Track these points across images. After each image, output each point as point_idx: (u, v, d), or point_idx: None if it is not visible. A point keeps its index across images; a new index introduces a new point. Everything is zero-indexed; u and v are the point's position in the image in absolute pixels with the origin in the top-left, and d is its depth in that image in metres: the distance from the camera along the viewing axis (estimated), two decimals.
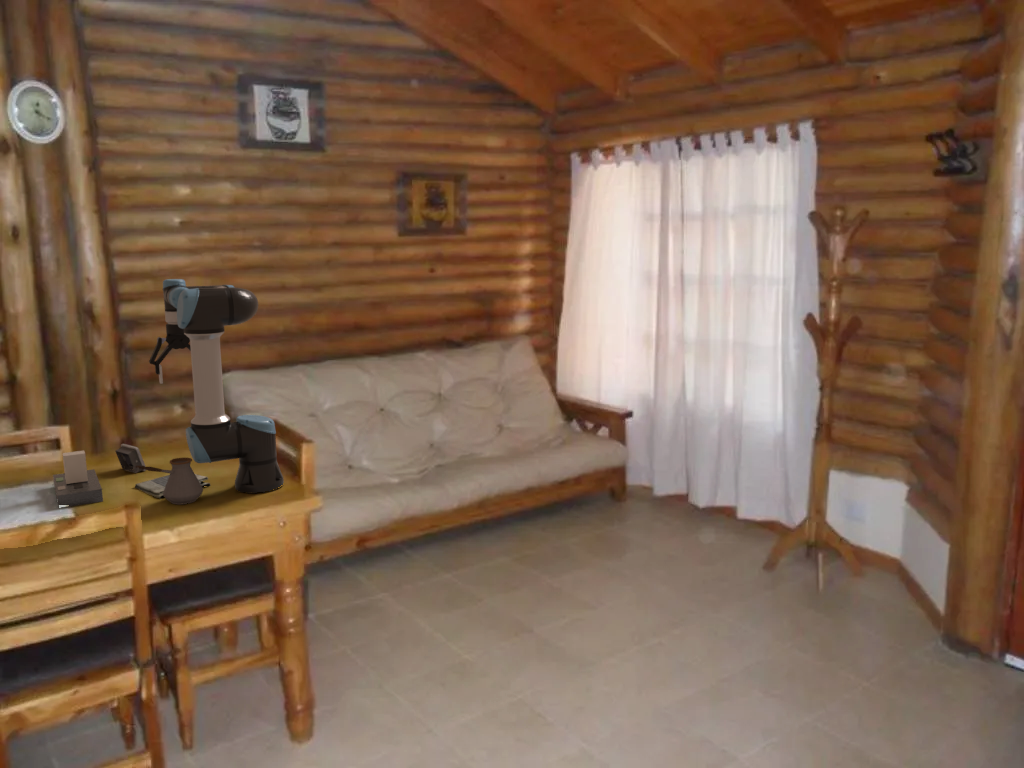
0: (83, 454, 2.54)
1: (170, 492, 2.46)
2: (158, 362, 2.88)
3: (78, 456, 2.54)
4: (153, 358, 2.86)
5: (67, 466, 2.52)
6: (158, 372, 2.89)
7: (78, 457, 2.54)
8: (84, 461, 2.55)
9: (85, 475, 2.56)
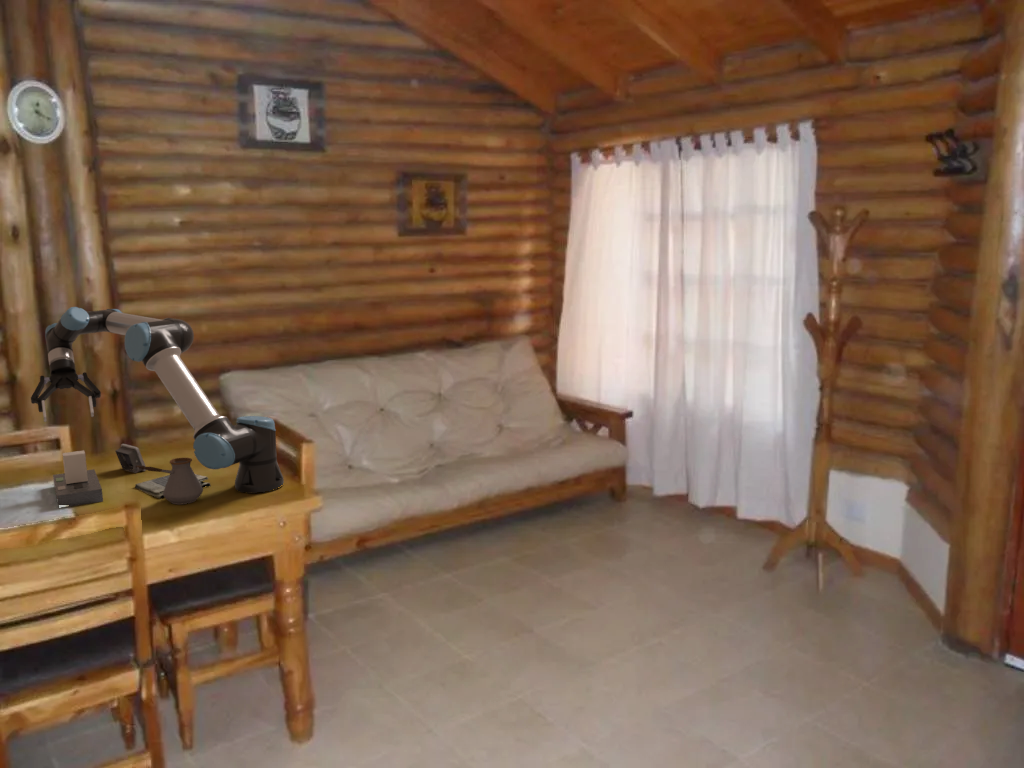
0: (83, 454, 2.54)
1: (170, 492, 2.46)
2: (40, 397, 2.64)
3: (78, 456, 2.54)
4: (34, 394, 2.63)
5: (67, 466, 2.52)
6: (41, 407, 2.62)
7: (78, 457, 2.54)
8: (84, 461, 2.55)
9: (85, 475, 2.56)
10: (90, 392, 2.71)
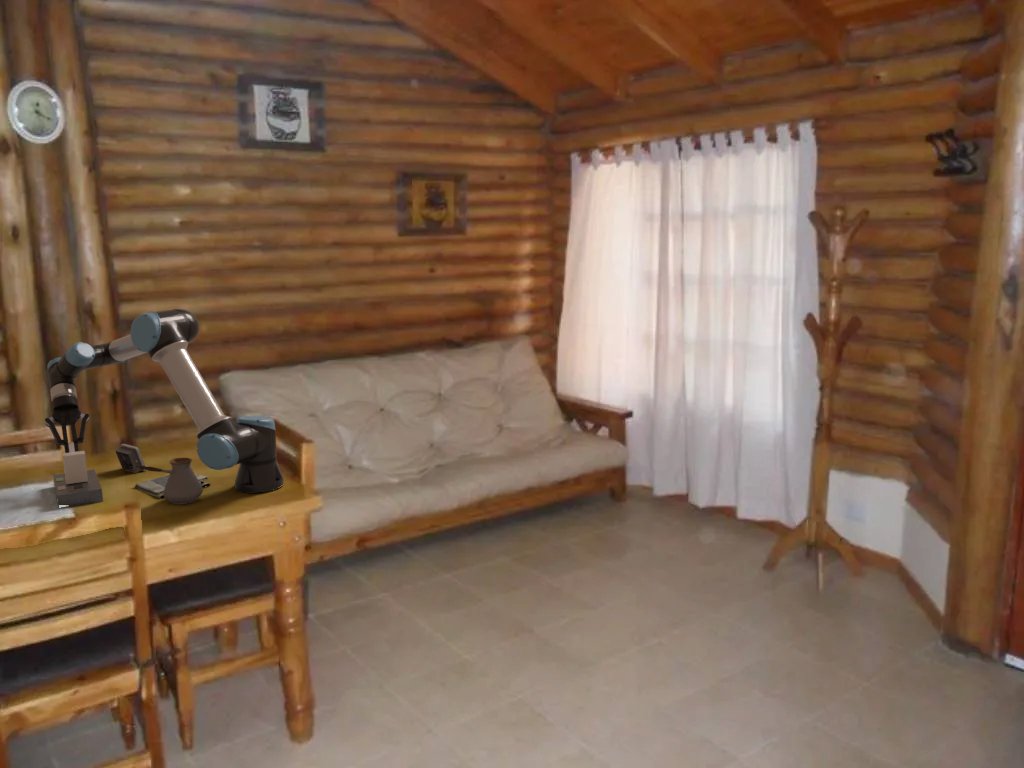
0: (83, 454, 2.54)
1: (170, 492, 2.46)
2: (65, 439, 2.59)
3: (78, 457, 2.53)
4: (57, 436, 2.59)
5: (67, 466, 2.52)
6: (67, 450, 2.58)
7: (78, 457, 2.53)
8: (84, 461, 2.54)
9: (85, 475, 2.55)
10: (74, 437, 2.61)
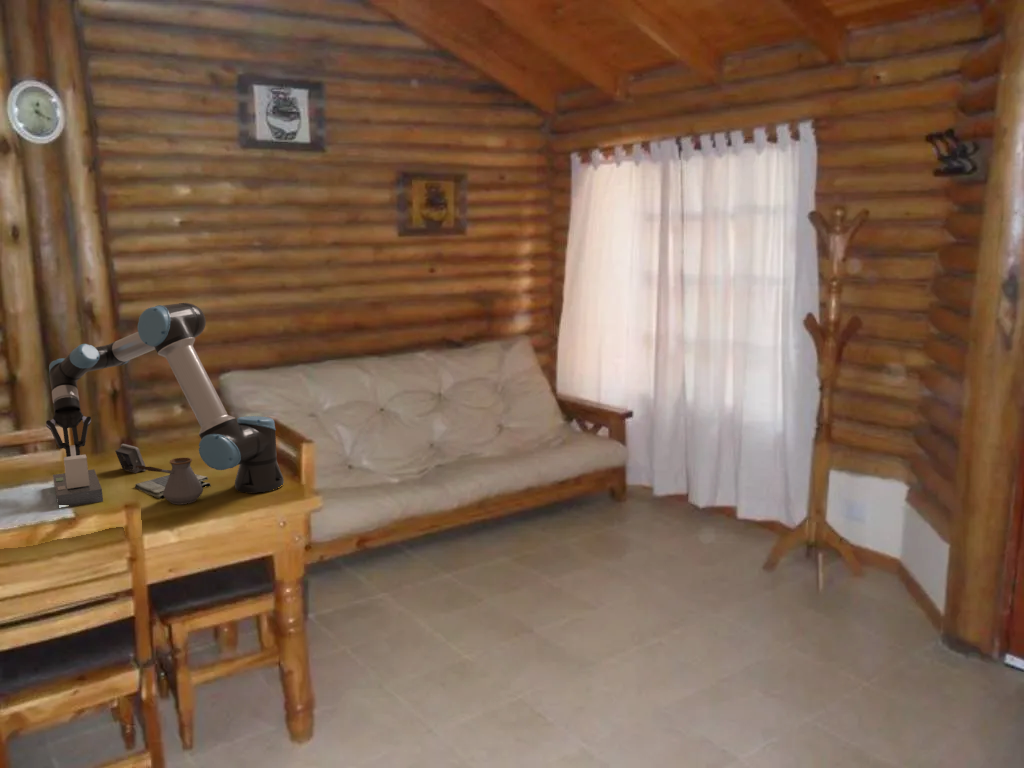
0: (84, 458, 2.50)
1: (170, 492, 2.46)
2: (66, 442, 2.55)
3: (80, 461, 2.49)
4: (58, 439, 2.55)
5: (68, 471, 2.48)
6: (69, 453, 2.54)
7: (79, 461, 2.49)
8: (86, 465, 2.50)
9: (87, 480, 2.51)
10: (76, 440, 2.57)
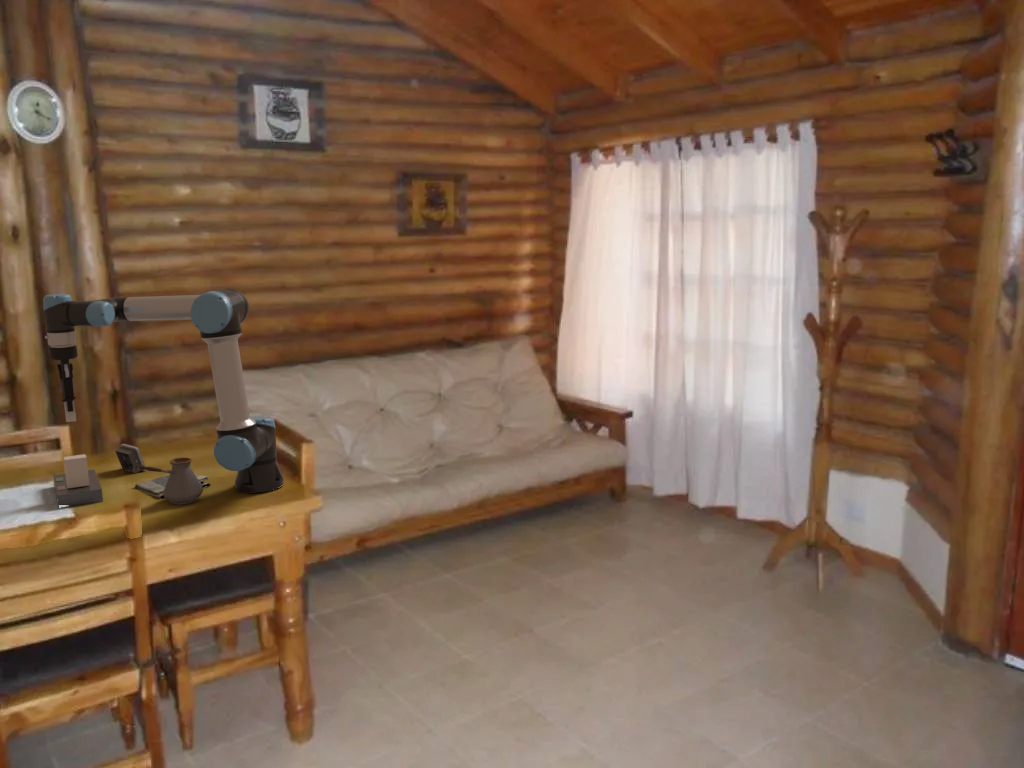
0: (84, 458, 2.50)
1: (170, 492, 2.46)
2: None
3: (79, 460, 2.49)
4: None
5: (68, 470, 2.48)
6: (72, 408, 2.50)
7: (79, 461, 2.49)
8: (85, 465, 2.50)
9: (86, 479, 2.51)
10: None
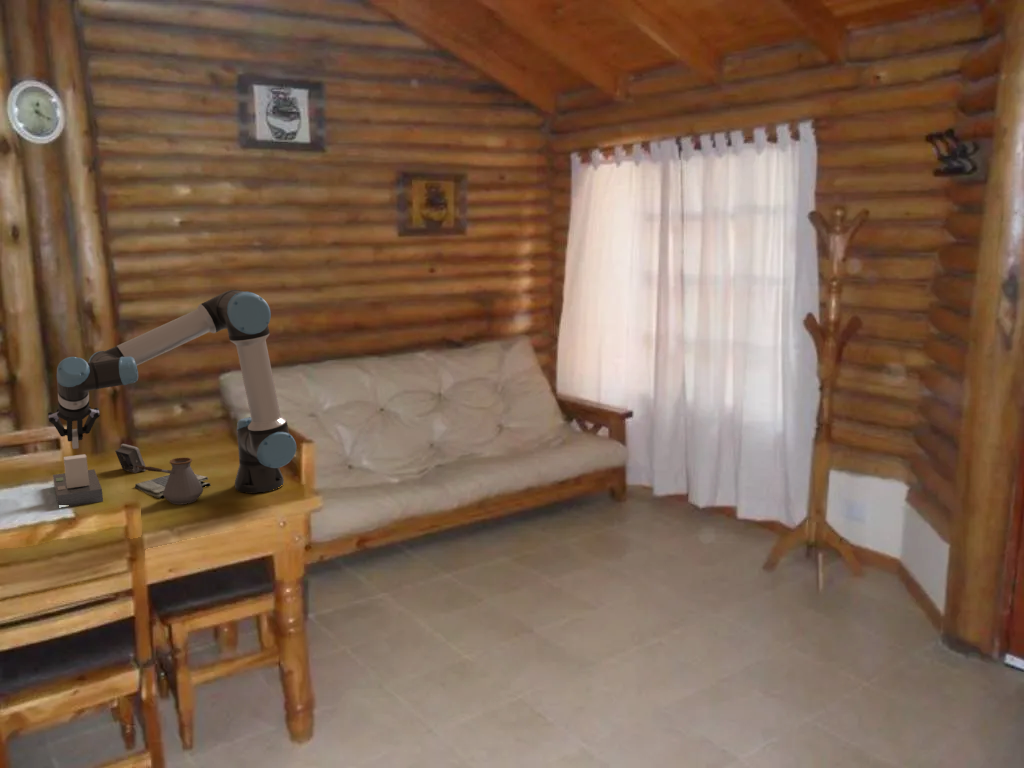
0: (84, 458, 2.50)
1: (170, 492, 2.46)
2: None
3: (79, 460, 2.49)
4: None
5: (68, 470, 2.48)
6: None
7: (79, 461, 2.49)
8: (85, 465, 2.50)
9: (86, 479, 2.51)
10: None
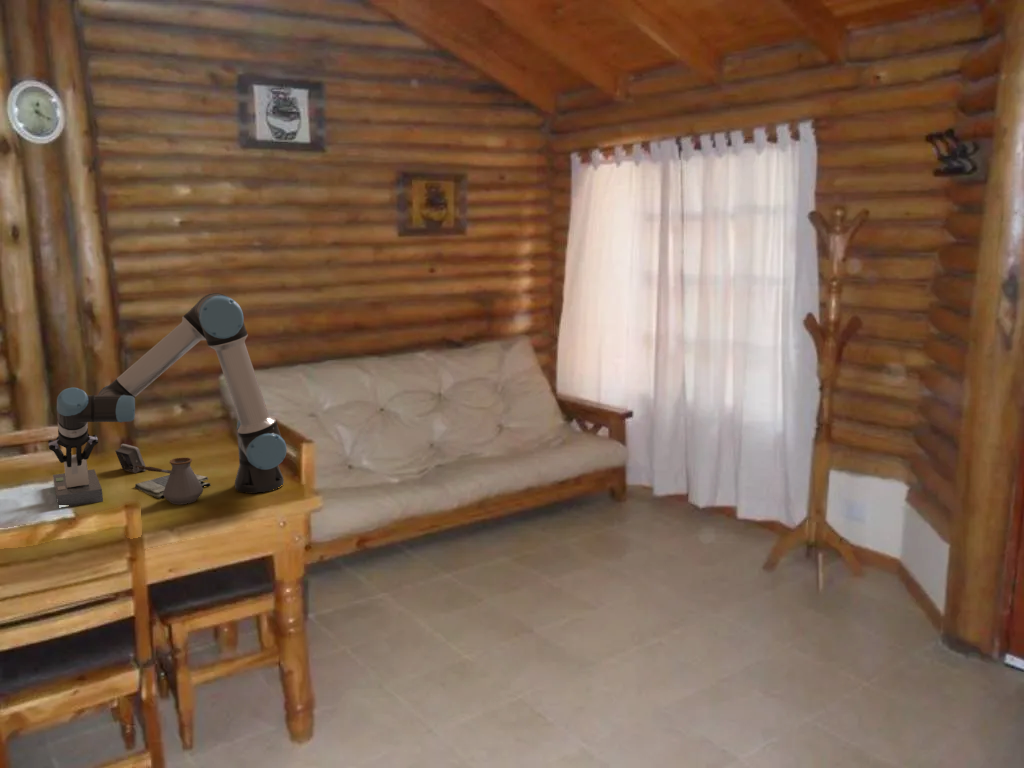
0: None
1: (170, 492, 2.46)
2: None
3: None
4: None
5: (68, 469, 2.49)
6: None
7: None
8: (85, 464, 2.51)
9: (86, 478, 2.52)
10: None
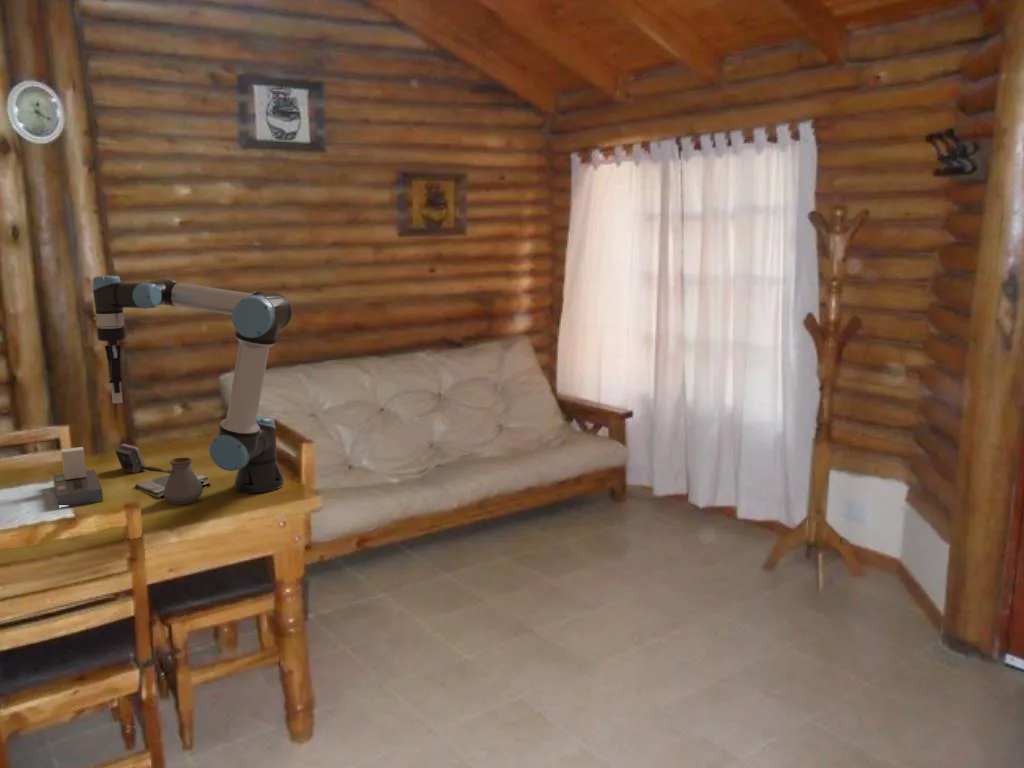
0: (82, 450, 2.58)
1: (170, 492, 2.46)
2: None
3: (77, 453, 2.58)
4: (120, 374, 2.48)
5: (66, 462, 2.57)
6: None
7: (76, 453, 2.58)
8: (83, 457, 2.59)
9: (84, 471, 2.60)
10: None
